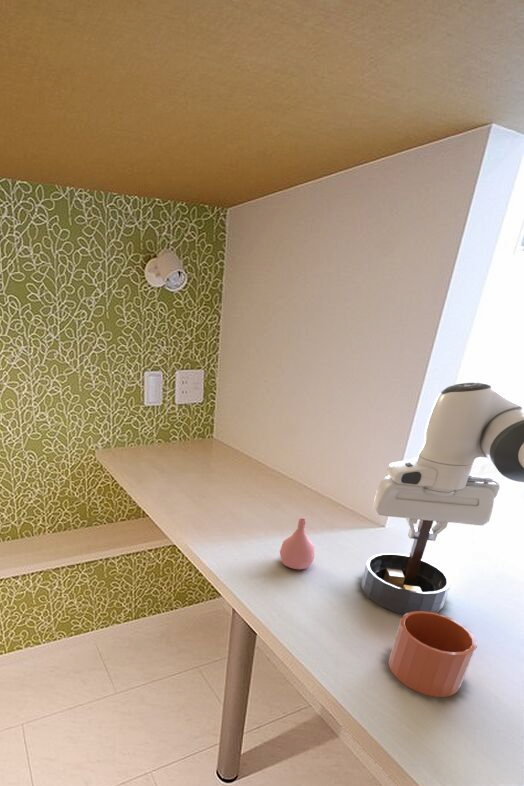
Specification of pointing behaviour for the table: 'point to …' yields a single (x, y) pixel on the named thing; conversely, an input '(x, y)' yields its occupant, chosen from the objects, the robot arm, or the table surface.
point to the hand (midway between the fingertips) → (421, 538)
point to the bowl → (401, 599)
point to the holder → (431, 653)
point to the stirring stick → (418, 549)
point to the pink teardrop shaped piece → (297, 549)
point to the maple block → (394, 577)
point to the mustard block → (412, 588)
